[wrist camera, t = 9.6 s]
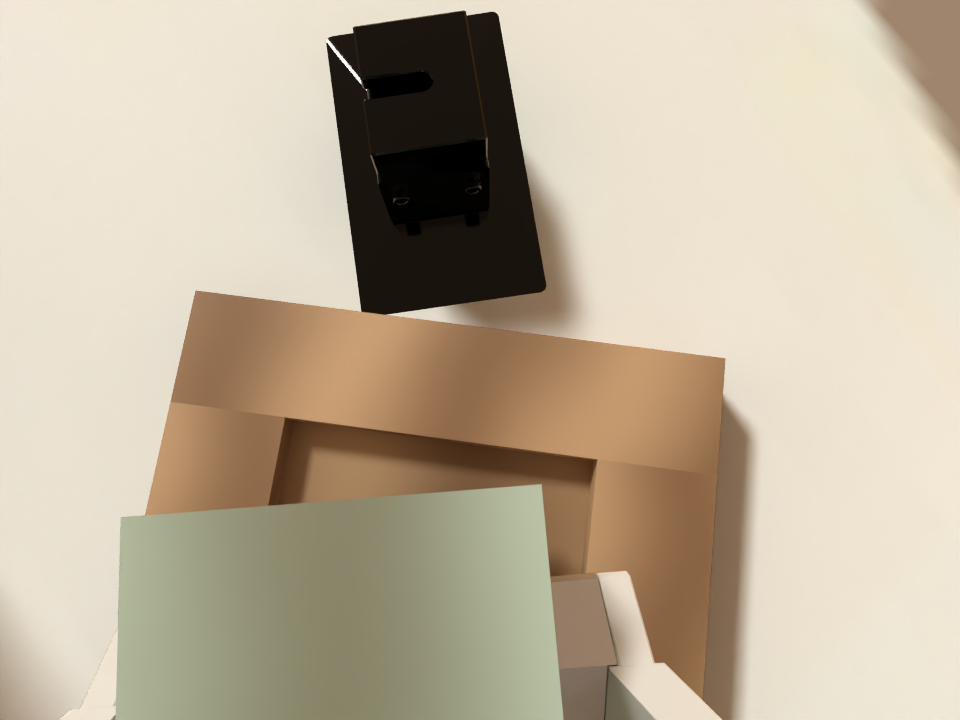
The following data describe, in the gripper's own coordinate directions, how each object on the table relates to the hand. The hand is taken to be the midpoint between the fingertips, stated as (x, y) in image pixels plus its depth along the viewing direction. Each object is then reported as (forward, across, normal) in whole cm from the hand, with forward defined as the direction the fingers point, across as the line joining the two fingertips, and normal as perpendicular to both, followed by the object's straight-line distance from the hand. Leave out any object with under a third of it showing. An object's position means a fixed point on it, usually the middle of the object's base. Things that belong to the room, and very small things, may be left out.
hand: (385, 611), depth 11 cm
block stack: (+3, 0, +4) cm, 4 cm away
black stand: (+14, -1, -3) cm, 14 cm away
